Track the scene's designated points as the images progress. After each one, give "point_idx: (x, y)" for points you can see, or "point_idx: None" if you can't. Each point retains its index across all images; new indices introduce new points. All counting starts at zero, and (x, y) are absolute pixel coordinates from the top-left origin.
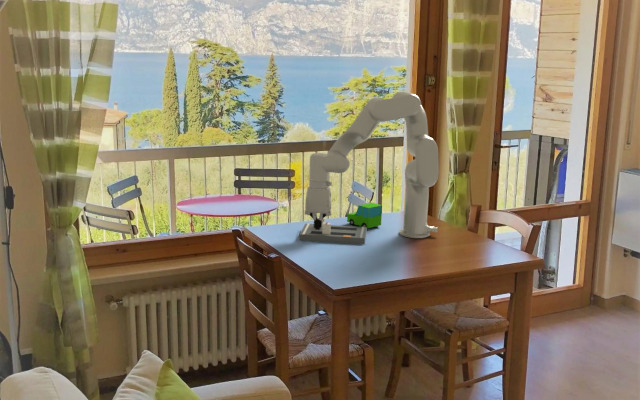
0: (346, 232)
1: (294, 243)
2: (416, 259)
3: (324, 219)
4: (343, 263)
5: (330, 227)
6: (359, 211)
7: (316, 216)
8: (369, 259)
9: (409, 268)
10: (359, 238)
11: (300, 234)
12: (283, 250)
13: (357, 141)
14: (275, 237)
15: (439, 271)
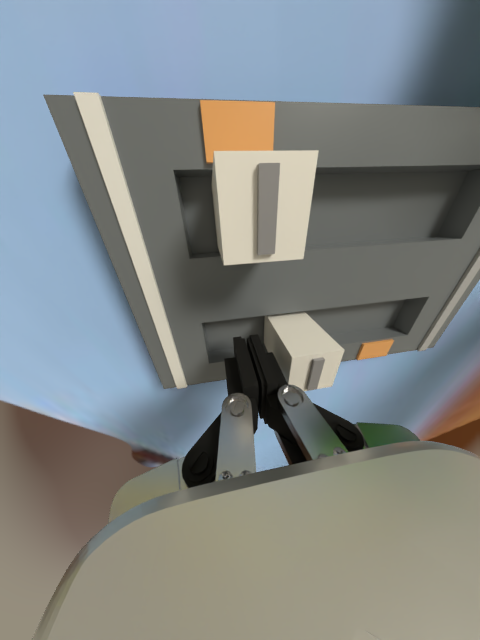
0: (390, 294)
1: (167, 397)
2: (471, 389)
3: (301, 246)
4: None
5: (323, 334)
6: None
7: (250, 420)
8: (373, 419)
9: (426, 426)
10: (412, 348)
11: (168, 387)
12: (165, 445)
13: None
14: (37, 366)
15: (466, 419)
